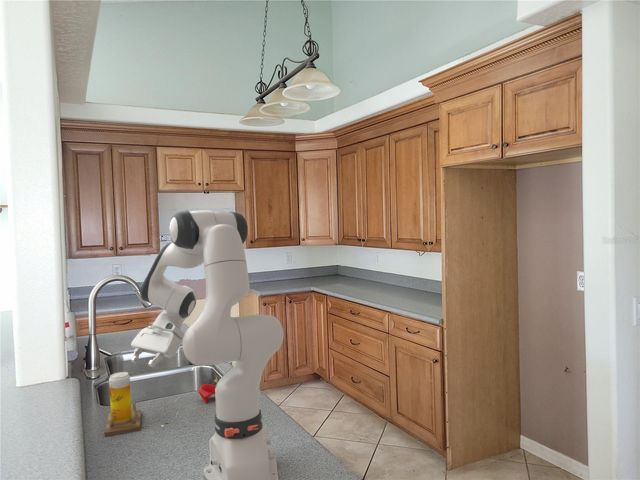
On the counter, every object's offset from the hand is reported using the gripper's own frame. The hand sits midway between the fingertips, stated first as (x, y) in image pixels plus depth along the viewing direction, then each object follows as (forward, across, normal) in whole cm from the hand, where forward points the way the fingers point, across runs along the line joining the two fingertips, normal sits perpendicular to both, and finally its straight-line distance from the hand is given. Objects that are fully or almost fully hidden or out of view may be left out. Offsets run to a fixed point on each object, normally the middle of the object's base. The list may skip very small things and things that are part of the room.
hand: (141, 364), depth 157 cm
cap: (-2, +9, +27) cm, 28 cm away
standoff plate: (+18, 0, +7) cm, 19 cm away
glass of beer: (+17, 0, +6) cm, 18 cm away
